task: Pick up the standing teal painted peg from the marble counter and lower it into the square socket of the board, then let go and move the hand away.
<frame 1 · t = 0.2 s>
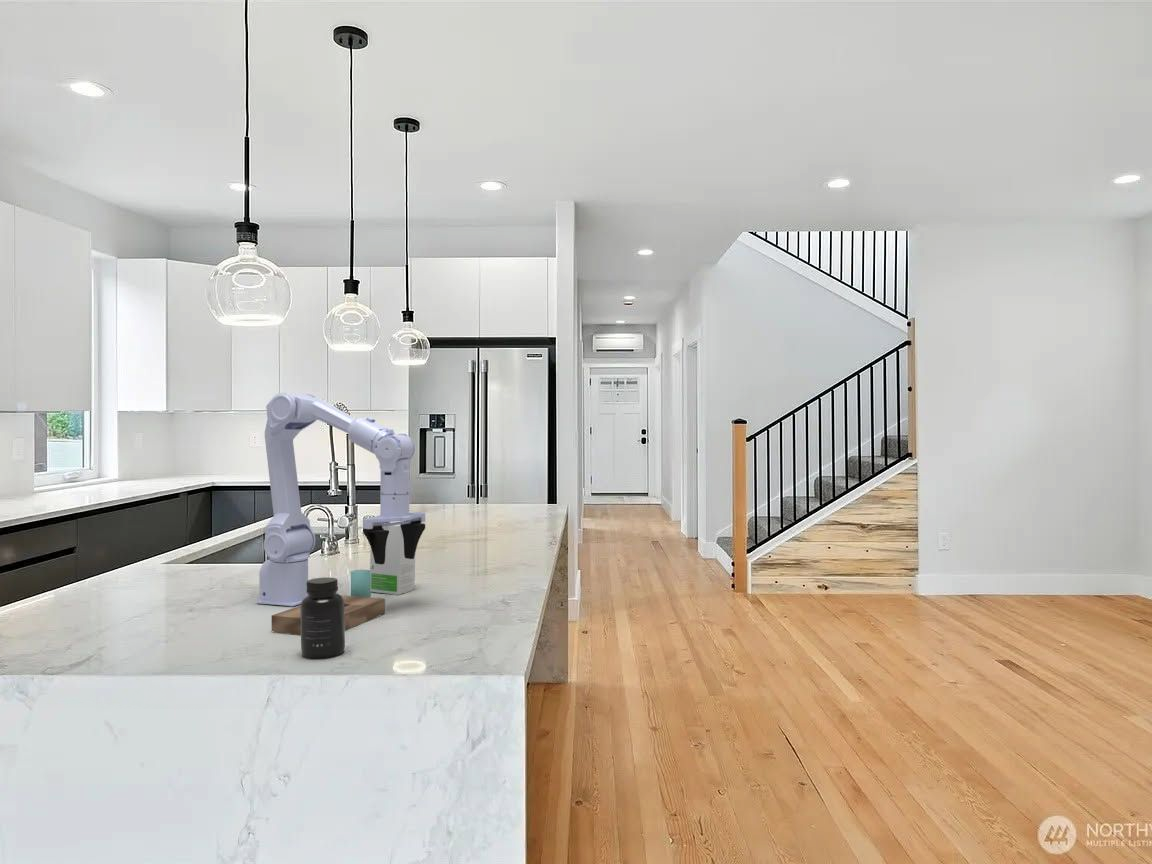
hand: (394, 561, 153), 10 cm above the countertop, tool pointing down, fingers open, 7 cm apart
skincare box: (393, 591, 171), on the countertop
peg: (360, 605, 157), on the countertop
socket board: (330, 622, 143), on the countertop
supplement bottle: (322, 654, 123), on the countertop
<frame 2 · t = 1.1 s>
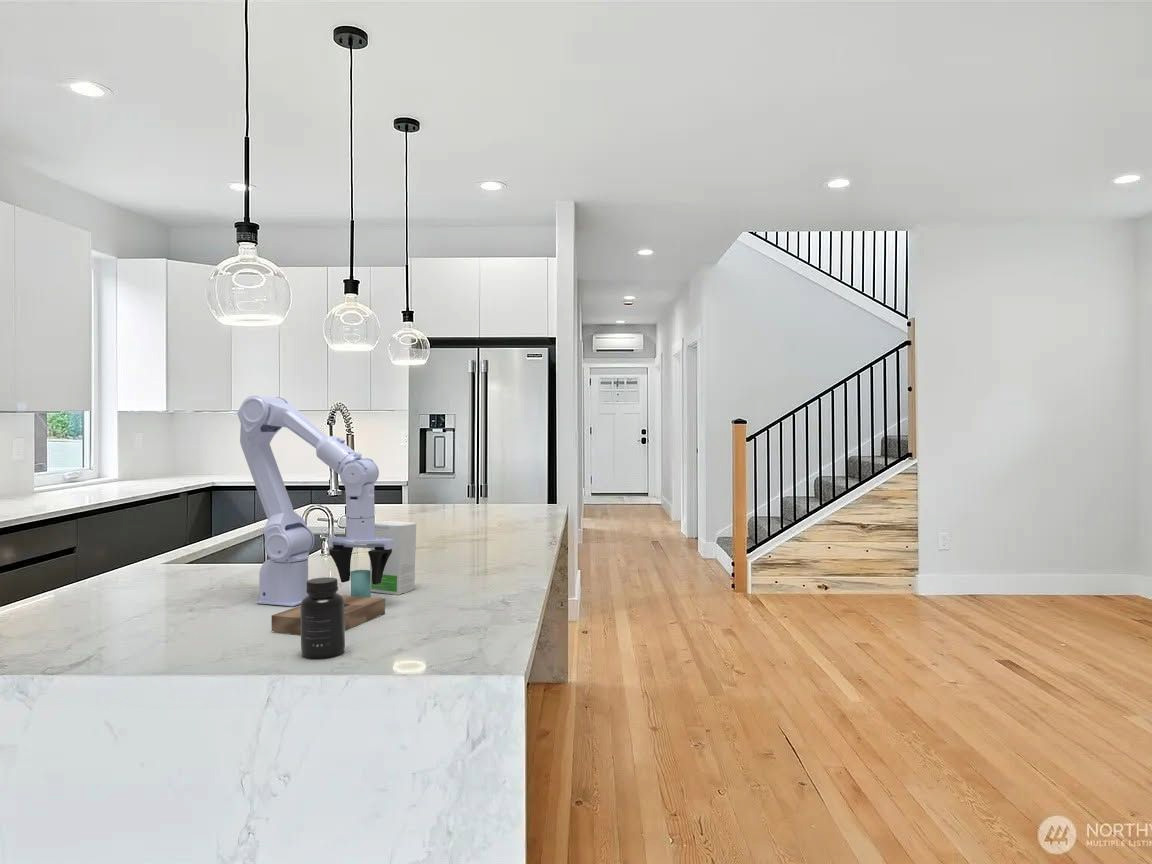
hand: (361, 582, 157), 5 cm above the countertop, tool pointing down, fingers open, 7 cm apart
nothing on the countertop moved.
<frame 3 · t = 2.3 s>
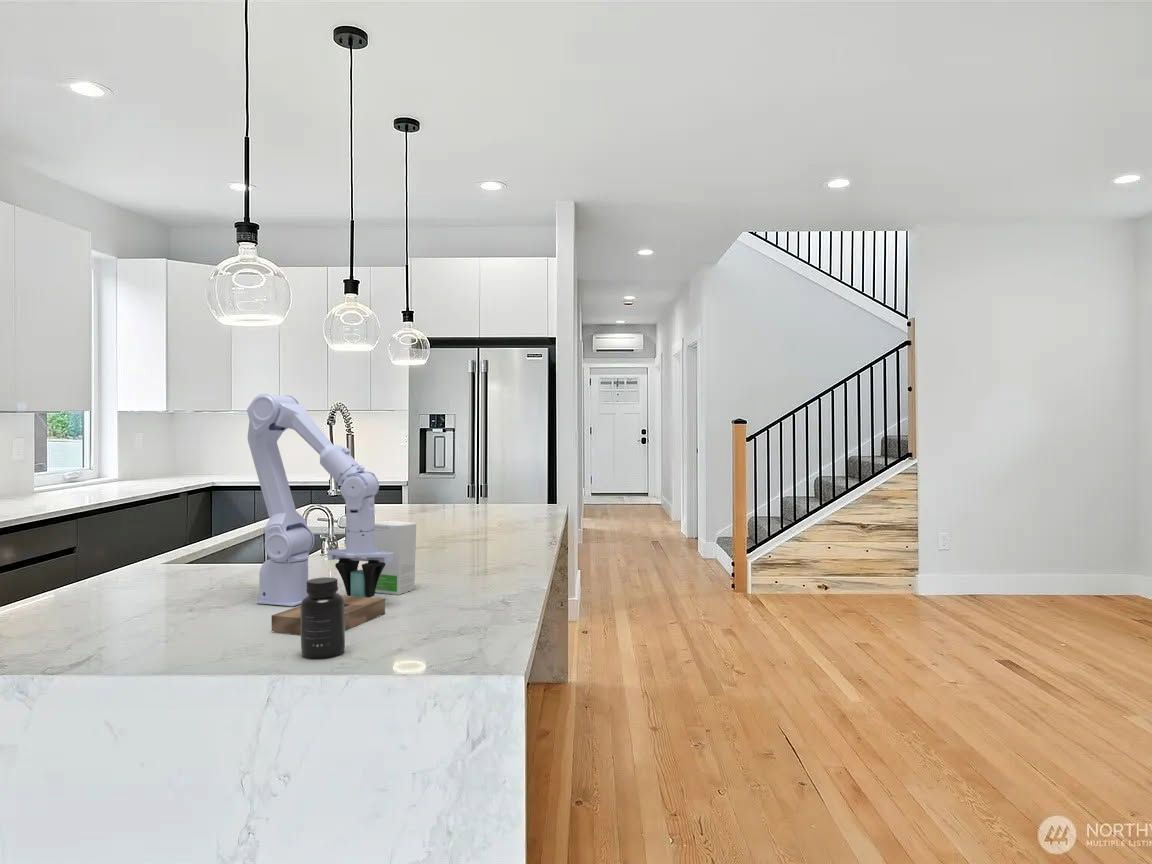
hand: (360, 595, 157), 2 cm above the countertop, tool pointing down, fingers closed on peg, 4 cm apart
peg: (360, 605, 157), on the countertop, touching gripper
everything else where it was.
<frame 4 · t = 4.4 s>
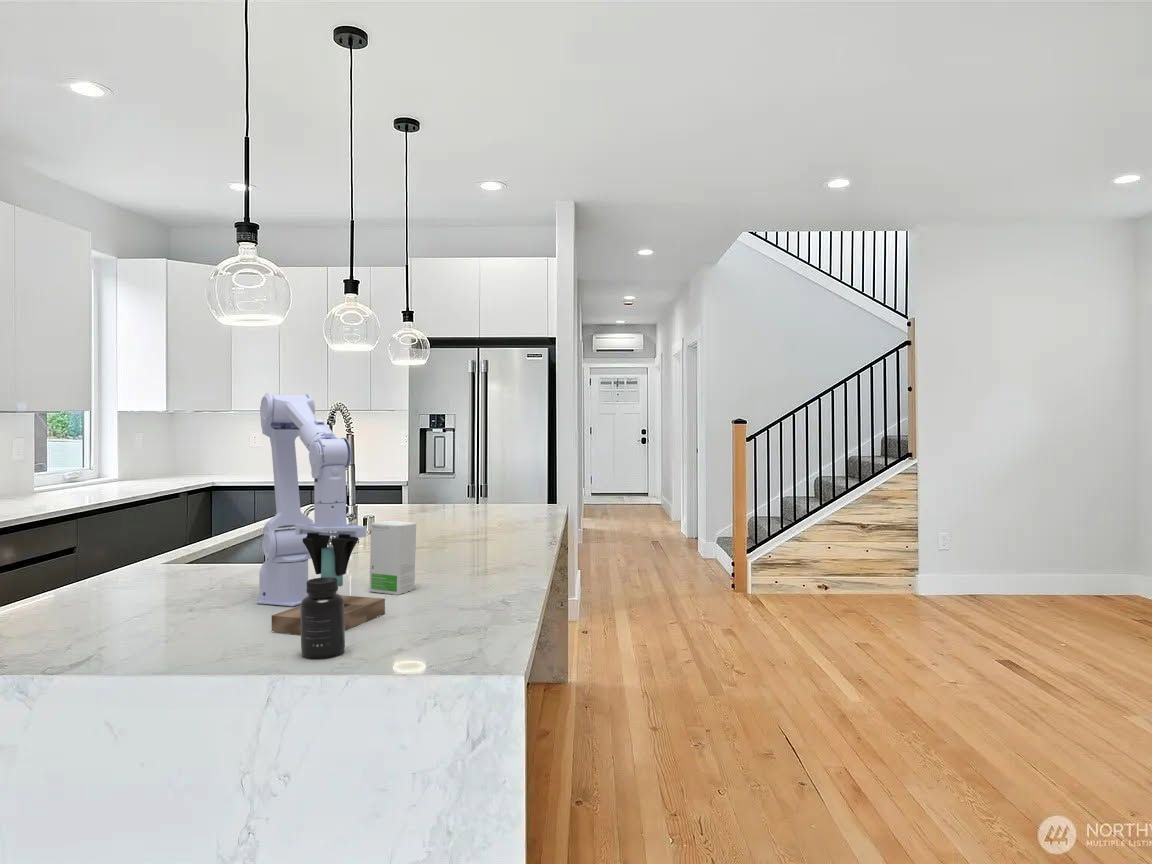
hand: (330, 574, 143), 9 cm above the countertop, tool pointing down, fingers closed on peg, 4 cm apart
peg: (331, 585, 143), point 7 cm above the countertop, touching gripper
everything else where it was.
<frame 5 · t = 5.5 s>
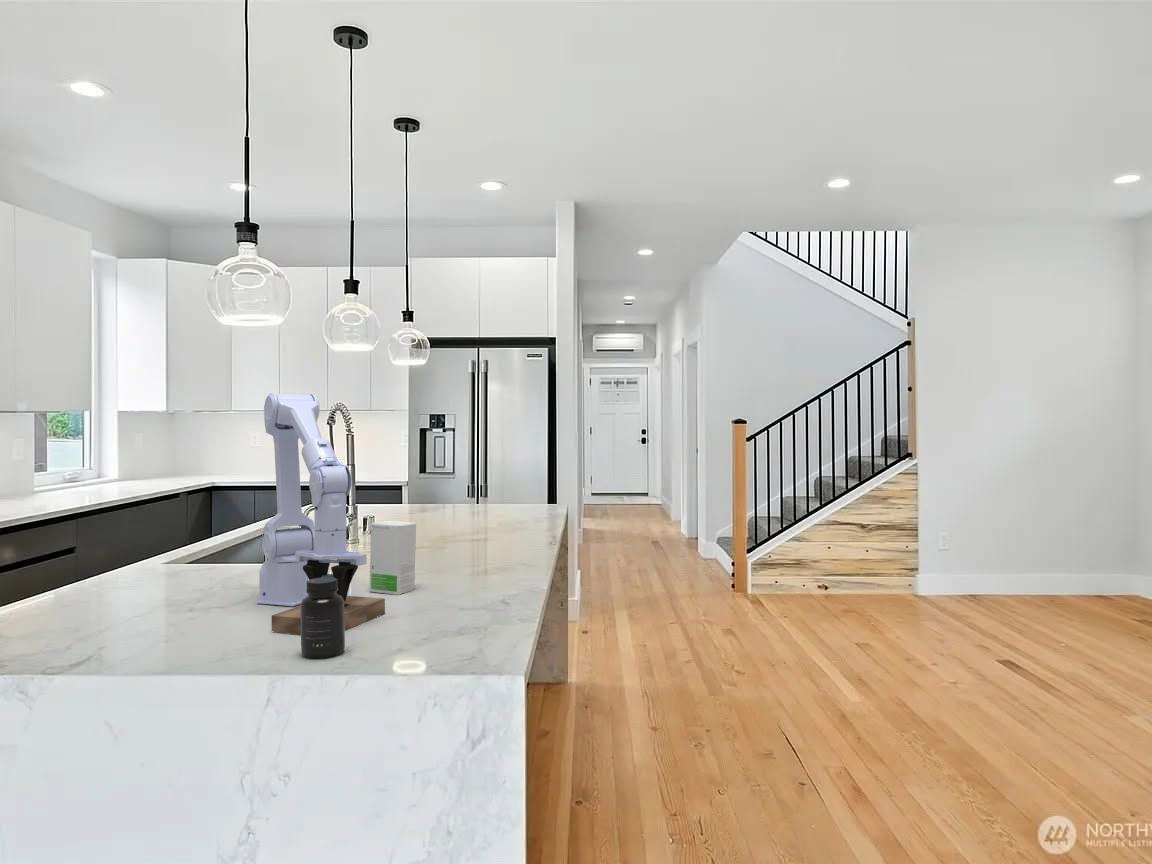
hand: (330, 601, 143), 4 cm above the countertop, tool pointing down, fingers closed on peg, 4 cm apart
peg: (331, 612, 143), point 2 cm above the countertop, touching gripper
everything else where it was.
when the fingers open (4 cm above the countertop, at t = 6.3 s): peg drops 2 cm, resting in socket board.
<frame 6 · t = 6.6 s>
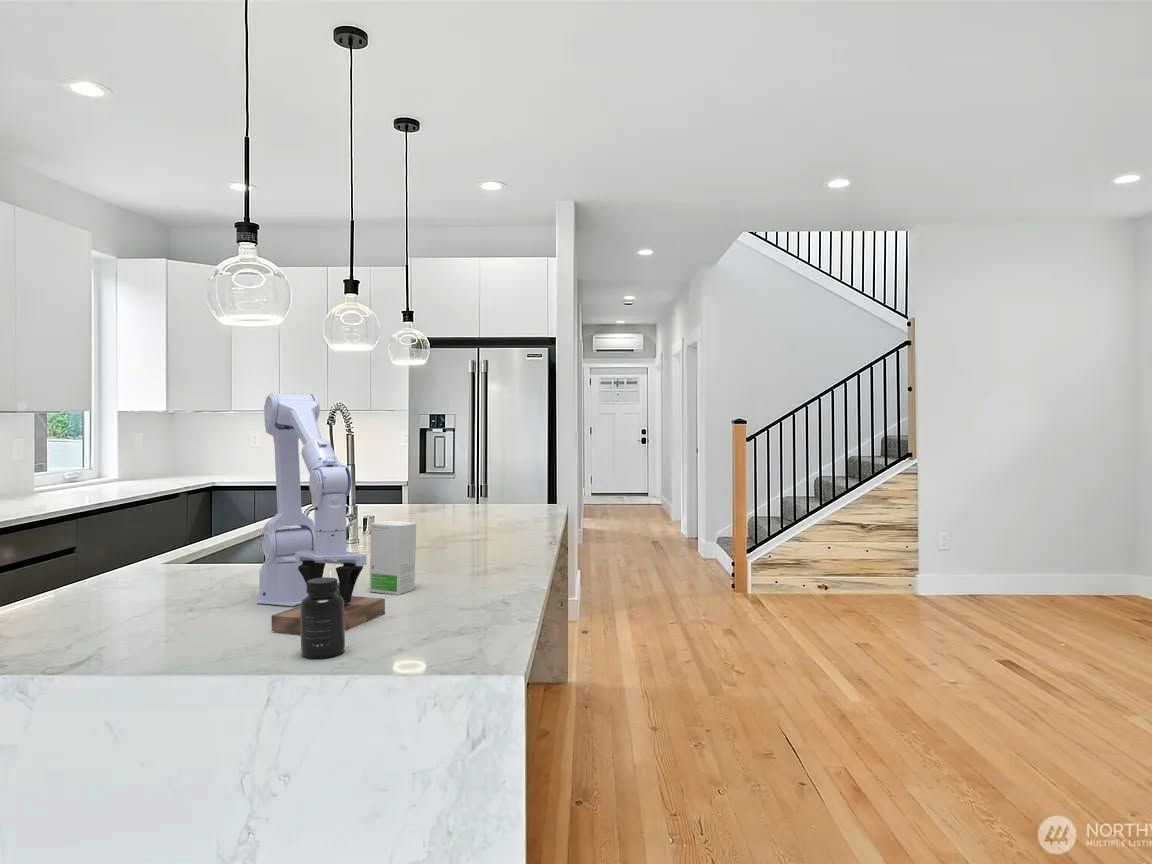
hand: (330, 601, 143), 4 cm above the countertop, tool pointing down, fingers open, 6 cm apart
peg: (331, 621, 143), resting in socket board
everything else where it was.
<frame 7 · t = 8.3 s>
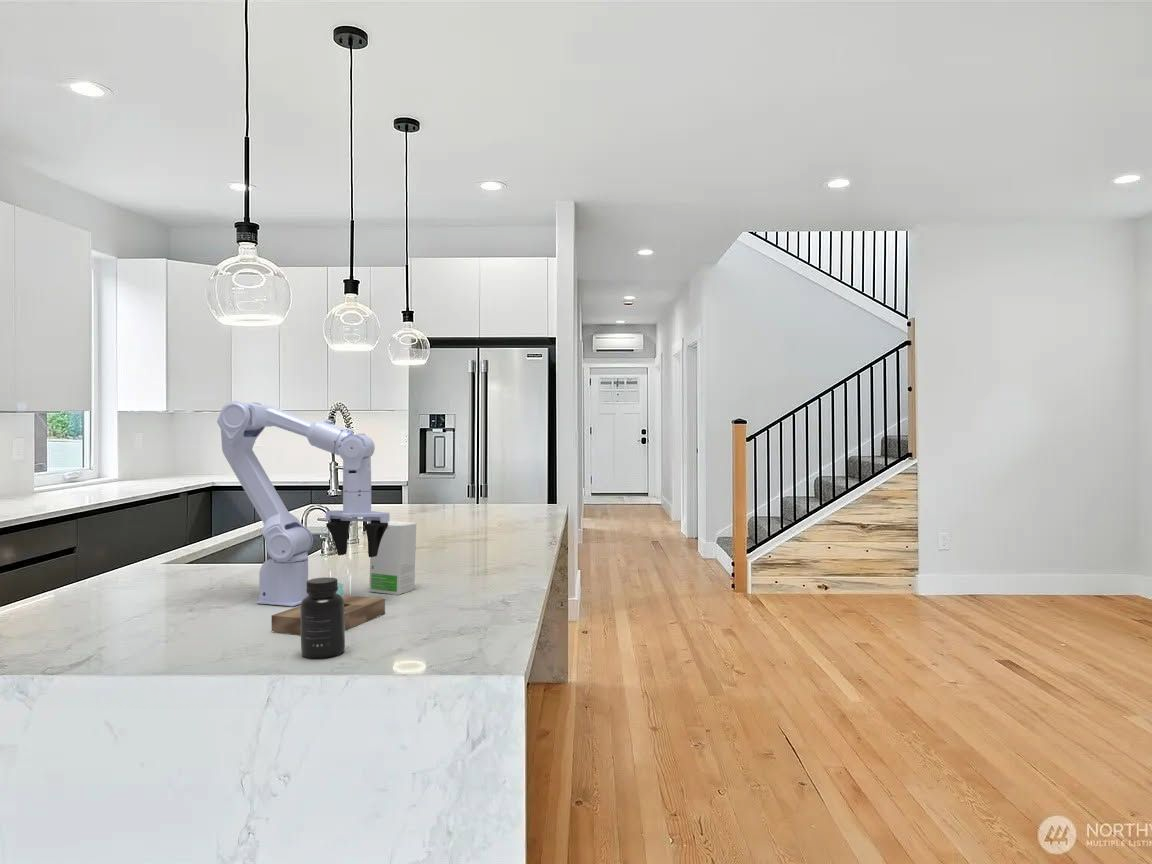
hand: (357, 555, 159), 10 cm above the countertop, tool pointing down, fingers open, 7 cm apart
nothing on the countertop moved.
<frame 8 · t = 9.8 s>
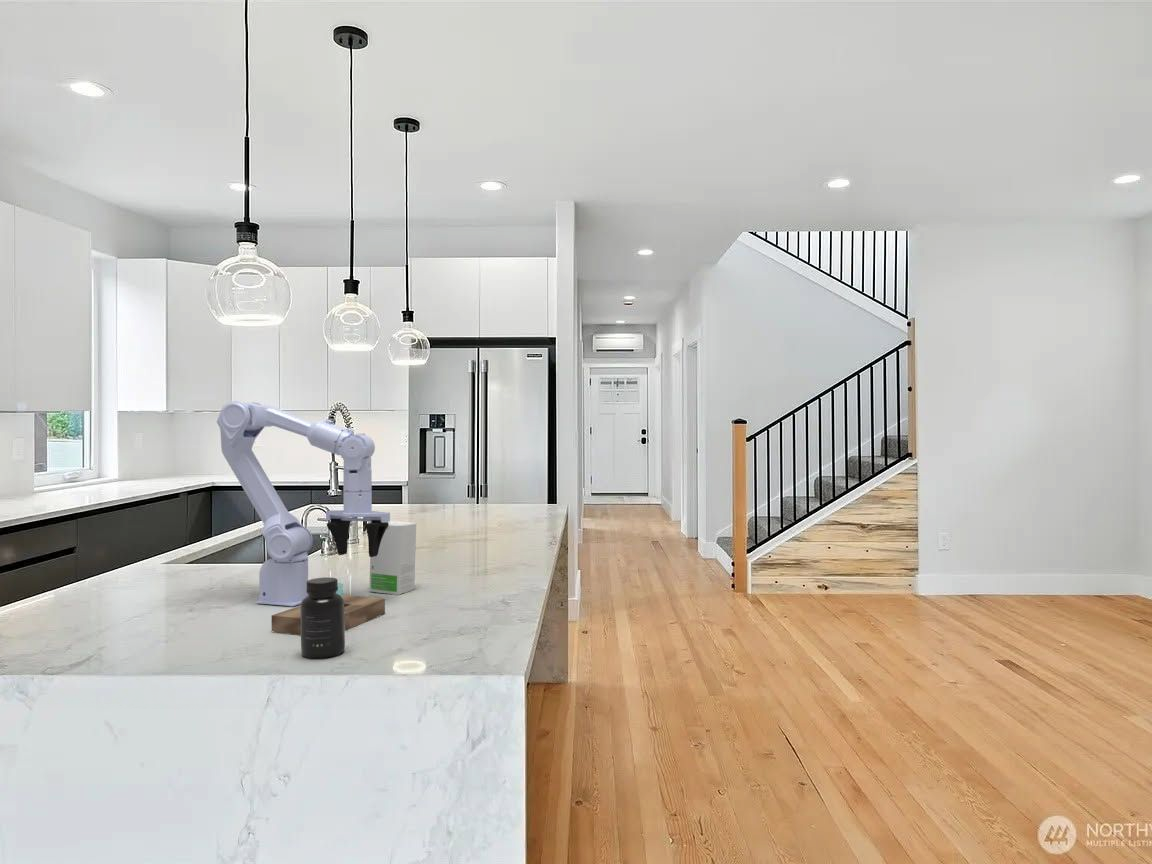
hand: (357, 555, 159), 10 cm above the countertop, tool pointing down, fingers open, 7 cm apart
nothing on the countertop moved.
at the end: peg 0.3 cm off-centre on the socket board, point 0.0 cm above the socket board's base; peg tilted 0°; the gripper is holding nothing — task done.
